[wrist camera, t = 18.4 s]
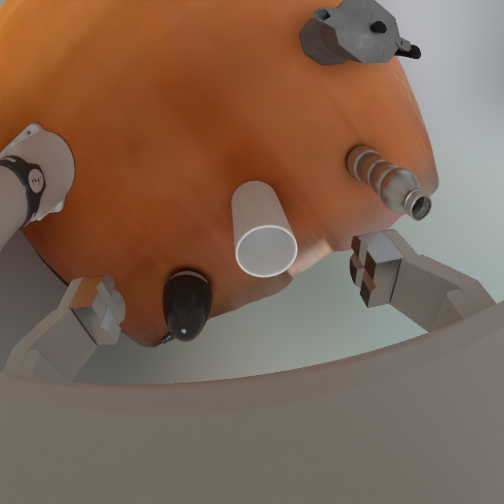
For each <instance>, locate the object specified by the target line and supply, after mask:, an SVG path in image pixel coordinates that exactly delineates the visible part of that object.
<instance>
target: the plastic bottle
mask: <svg viewBox="0 0 504 504" xmlns="http://www.w3.org/2000/svg"><path fill="white" fill-rule="evenodd" d="M347 167H348V170H349V172H350V173H351V175H352V176H353V177H354V178H355V179H356V180H358V181H360V182H362V183H364V184H366V185H368V186H369V187H371V188H372V189H373V190H374V191H375V192H376V193H377V195H378V196H379V197H380V199H381V200H382V201H383V203H384V204H385V205H386V206H387V208H389V209H390V210H392V211H395V212H398V213H403V212H406V213H407V214H408V215H409V216H411V217H412V218H413V219H414V220H416V221H421V220H423V219H425V218H426V217H427V216H428V215H429V213H430V210H431V207H432V202H431V199H430V198H429V197H428V196H427V195H426V194H425V193H424V192H423V191H422V190H421V188H420V184H419V181H418V179H417V178H416V176H415V175H414V174H413V173H412V172H411V171H409V170H407V169H405V168H403V167H400V166H397V165H394V164H392V163H390V162H389V161H387V160H386V159H384V158H383V157H382V156H381V155H380V154H379V153H378V152H377V151H376V150H375V149H374V148H372V147H369V146H358V147H355V148H354V149H353V150H352V151H351V152H350V154H349V156H348V159H347Z"/></svg>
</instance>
